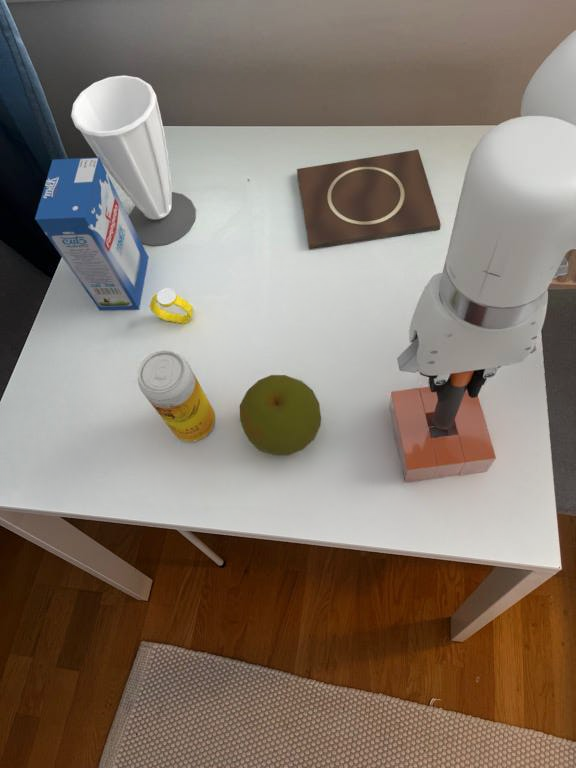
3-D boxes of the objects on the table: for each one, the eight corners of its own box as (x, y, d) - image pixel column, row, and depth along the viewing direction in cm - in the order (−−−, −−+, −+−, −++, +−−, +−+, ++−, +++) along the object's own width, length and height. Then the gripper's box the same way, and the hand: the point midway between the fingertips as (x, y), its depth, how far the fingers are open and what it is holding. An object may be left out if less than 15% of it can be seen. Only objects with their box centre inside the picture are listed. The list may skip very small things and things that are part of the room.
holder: (466, 396, 75) (473, 379, 71) (487, 471, 71) (496, 458, 66) (388, 408, 76) (390, 391, 71) (404, 482, 71) (407, 470, 67)
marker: (451, 409, 68) (473, 348, 56) (456, 428, 67) (479, 370, 54) (429, 411, 68) (447, 351, 56) (434, 431, 67) (453, 374, 54)
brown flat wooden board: (417, 155, 95) (418, 148, 94) (439, 229, 88) (441, 223, 87) (297, 174, 96) (296, 167, 95) (309, 249, 89) (308, 243, 87)
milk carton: (110, 258, 92) (52, 159, 74) (148, 256, 91) (99, 156, 73) (99, 311, 88) (34, 219, 70) (139, 310, 87) (83, 217, 69)
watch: (154, 324, 86) (141, 301, 80) (160, 308, 87) (148, 285, 81) (193, 329, 84) (182, 306, 79) (198, 313, 86) (188, 290, 80)
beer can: (167, 441, 77) (128, 393, 64) (178, 399, 80) (142, 345, 66) (211, 446, 76) (180, 398, 63) (220, 404, 79) (193, 349, 65)
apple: (338, 430, 75) (335, 394, 65) (284, 482, 73) (274, 453, 63) (284, 383, 79) (275, 342, 69) (232, 431, 77) (215, 396, 67)
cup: (168, 256, 91) (118, 145, 72) (113, 230, 94) (51, 118, 75) (210, 206, 95) (173, 88, 75) (155, 183, 98) (107, 65, 79)
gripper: (584, 226, 45) (521, 345, 61) (377, 257, 45) (370, 366, 62) (619, 305, 42) (543, 409, 58) (395, 338, 42) (383, 431, 59)
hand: (454, 386), depth 60 cm, fingers closed on marker, 2 cm apart
